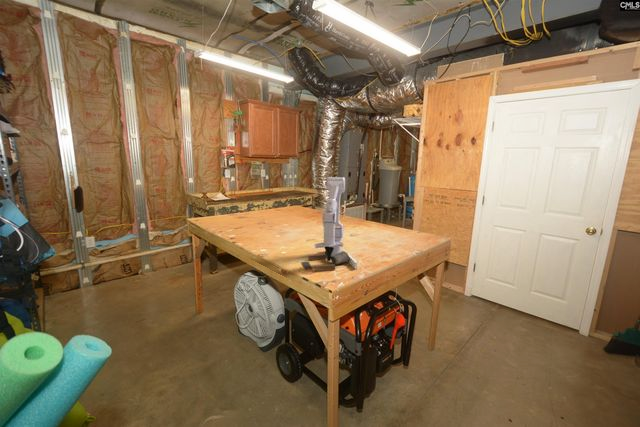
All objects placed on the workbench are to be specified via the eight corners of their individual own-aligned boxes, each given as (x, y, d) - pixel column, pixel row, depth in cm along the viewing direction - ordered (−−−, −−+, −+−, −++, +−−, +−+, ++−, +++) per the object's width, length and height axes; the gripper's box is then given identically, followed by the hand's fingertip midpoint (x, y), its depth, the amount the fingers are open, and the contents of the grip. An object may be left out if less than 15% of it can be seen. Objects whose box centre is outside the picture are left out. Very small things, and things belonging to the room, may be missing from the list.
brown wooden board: (308, 259, 153) (308, 255, 152) (326, 258, 155) (326, 254, 155) (315, 271, 137) (315, 266, 136) (335, 269, 139) (335, 265, 139)
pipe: (323, 257, 153) (334, 254, 157) (337, 268, 143) (349, 264, 148) (323, 247, 151) (335, 244, 155) (338, 258, 141) (350, 254, 146)
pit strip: (301, 262, 149) (301, 262, 148) (308, 262, 149) (308, 261, 149) (305, 269, 139) (305, 269, 139) (312, 269, 140) (312, 268, 140)
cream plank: (342, 256, 159) (342, 250, 158) (344, 256, 159) (344, 250, 159) (355, 269, 140) (355, 262, 139) (357, 269, 140) (357, 262, 140)
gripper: (317, 237, 139) (316, 264, 141) (345, 236, 142) (344, 262, 144) (314, 234, 145) (313, 259, 148) (340, 233, 149) (340, 257, 151)
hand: (328, 260), depth 147 cm, fingers closed, pressing on pipe
